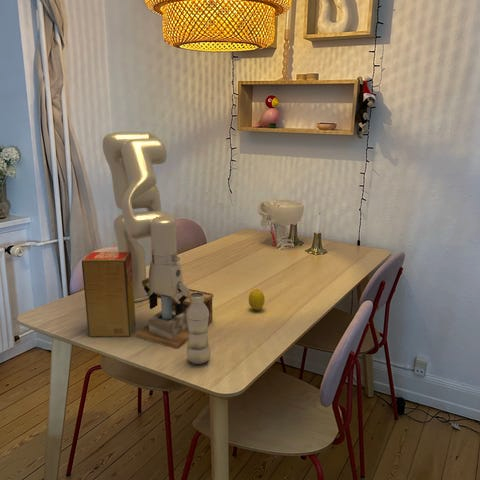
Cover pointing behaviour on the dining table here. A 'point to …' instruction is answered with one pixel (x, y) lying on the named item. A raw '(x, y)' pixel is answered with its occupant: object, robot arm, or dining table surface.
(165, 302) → the peg
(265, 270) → the dining table surface
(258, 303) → the lemon
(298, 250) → the dining table surface
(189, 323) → the plastic bottle
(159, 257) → the robot arm
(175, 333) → the stand
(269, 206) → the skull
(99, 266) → the food packaging
